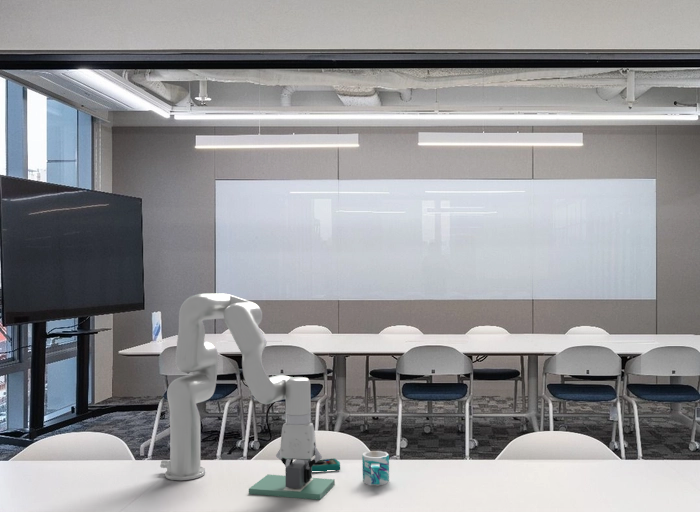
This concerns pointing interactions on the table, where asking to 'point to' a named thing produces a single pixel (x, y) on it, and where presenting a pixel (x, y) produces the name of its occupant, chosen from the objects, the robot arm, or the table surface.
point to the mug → (375, 467)
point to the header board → (277, 487)
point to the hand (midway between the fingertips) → (299, 480)
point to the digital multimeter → (326, 465)
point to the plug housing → (295, 474)
